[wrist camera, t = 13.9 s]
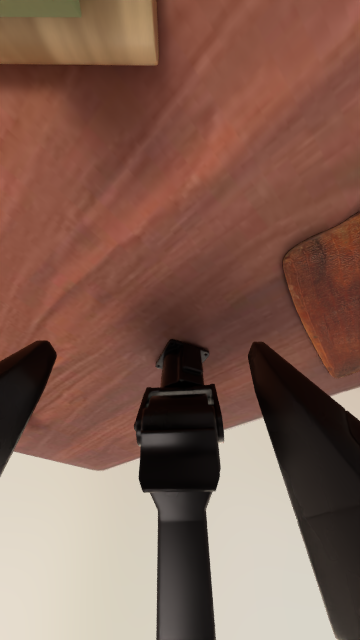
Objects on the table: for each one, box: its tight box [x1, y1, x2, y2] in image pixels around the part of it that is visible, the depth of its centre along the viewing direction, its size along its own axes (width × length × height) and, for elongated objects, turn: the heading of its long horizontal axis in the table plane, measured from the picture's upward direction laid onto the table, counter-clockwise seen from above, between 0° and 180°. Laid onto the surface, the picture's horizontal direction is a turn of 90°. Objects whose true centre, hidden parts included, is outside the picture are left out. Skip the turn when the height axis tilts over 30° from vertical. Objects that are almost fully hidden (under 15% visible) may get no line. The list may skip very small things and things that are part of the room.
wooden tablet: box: [283, 212, 360, 378], centre depth 23 cm, size 27×10×2 cm, turn 36°
